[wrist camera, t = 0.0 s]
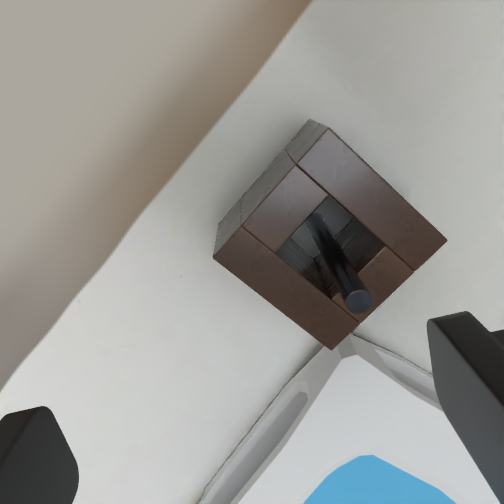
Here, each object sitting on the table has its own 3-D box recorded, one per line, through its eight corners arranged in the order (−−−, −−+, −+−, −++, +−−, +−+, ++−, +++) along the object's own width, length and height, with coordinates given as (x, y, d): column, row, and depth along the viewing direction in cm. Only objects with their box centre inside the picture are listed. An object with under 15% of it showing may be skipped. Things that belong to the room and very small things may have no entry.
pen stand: (310, 118, 31) (328, 127, 24) (407, 210, 33) (448, 240, 27) (217, 224, 33) (211, 257, 27) (314, 302, 36) (331, 351, 29)
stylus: (307, 207, 33) (350, 287, 20) (322, 211, 33) (376, 293, 20) (302, 222, 33) (342, 311, 20) (318, 226, 33) (367, 317, 20)
